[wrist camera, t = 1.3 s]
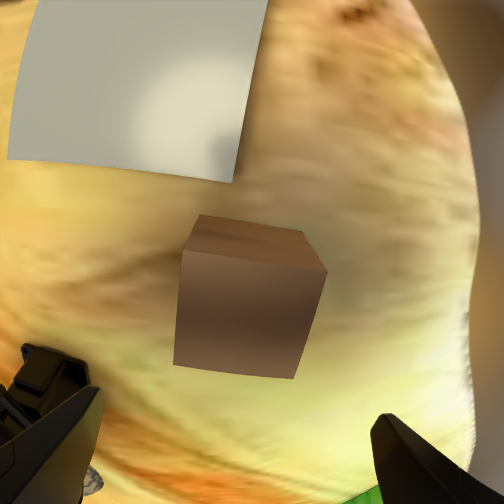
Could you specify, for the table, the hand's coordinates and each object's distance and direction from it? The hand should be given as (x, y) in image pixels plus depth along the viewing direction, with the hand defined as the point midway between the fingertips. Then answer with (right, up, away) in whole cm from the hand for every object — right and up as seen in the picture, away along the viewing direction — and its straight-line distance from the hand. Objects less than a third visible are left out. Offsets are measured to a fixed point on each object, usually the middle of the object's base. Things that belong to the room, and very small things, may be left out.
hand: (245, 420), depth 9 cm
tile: (-6, +16, +6) cm, 18 cm away
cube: (0, +4, +11) cm, 12 cm away
